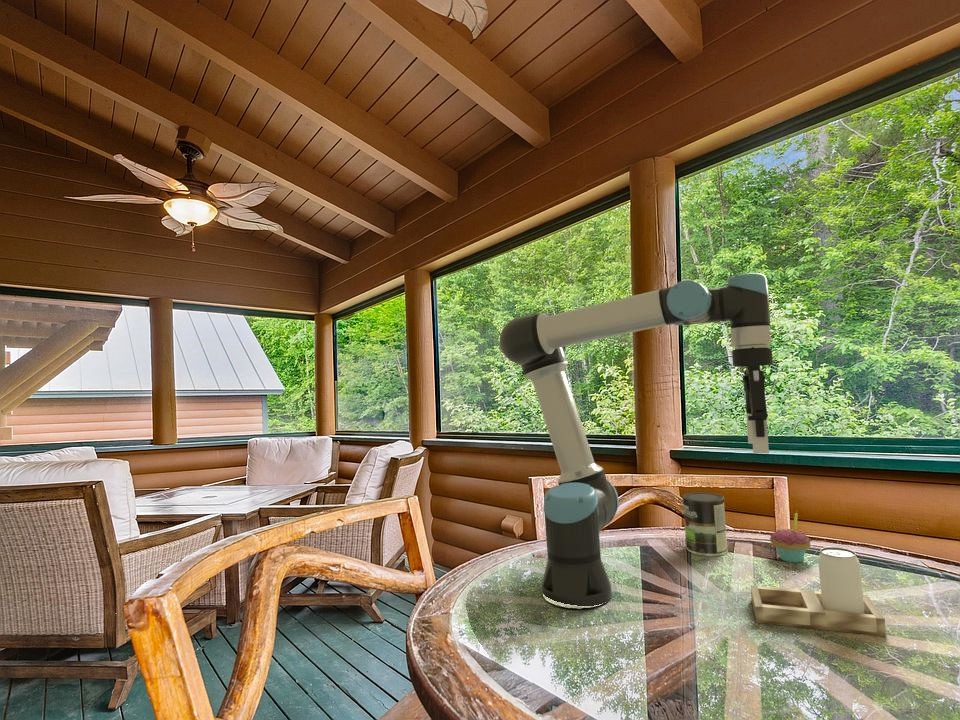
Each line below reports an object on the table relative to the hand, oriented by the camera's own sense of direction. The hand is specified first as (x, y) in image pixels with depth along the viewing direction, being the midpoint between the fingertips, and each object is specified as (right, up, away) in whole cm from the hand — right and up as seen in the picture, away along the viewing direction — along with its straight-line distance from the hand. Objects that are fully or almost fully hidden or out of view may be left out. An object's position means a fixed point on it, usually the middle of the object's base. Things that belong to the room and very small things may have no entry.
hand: (757, 448), depth 110 cm
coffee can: (+2, -32, +28) cm, 43 cm away
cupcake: (+18, -31, +18) cm, 40 cm away
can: (+9, -29, -13) cm, 33 cm away
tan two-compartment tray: (+5, -30, -11) cm, 32 cm away
